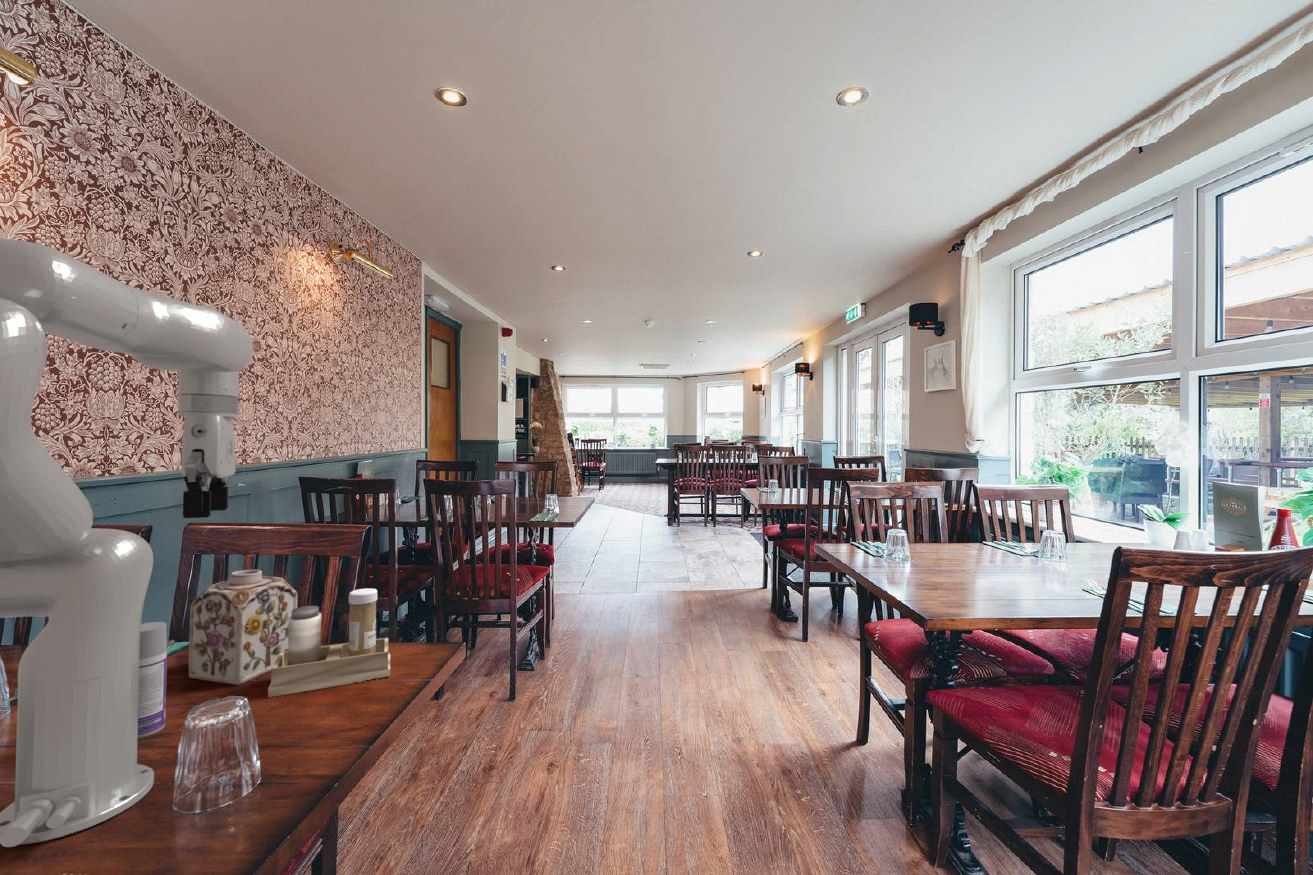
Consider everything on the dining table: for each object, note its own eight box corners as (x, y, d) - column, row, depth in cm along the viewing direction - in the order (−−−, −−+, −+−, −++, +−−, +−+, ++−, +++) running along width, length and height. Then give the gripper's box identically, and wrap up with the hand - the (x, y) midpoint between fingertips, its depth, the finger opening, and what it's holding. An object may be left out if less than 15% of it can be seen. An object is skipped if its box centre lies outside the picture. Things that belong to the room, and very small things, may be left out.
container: (131, 726, 79) (134, 623, 79) (171, 720, 81) (173, 620, 81) (112, 742, 75) (115, 634, 75) (155, 736, 76) (157, 630, 76)
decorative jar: (186, 679, 95) (188, 576, 95) (250, 654, 106) (252, 563, 106) (239, 686, 92) (241, 581, 92) (299, 660, 103) (300, 566, 104)
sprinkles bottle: (377, 666, 97) (378, 591, 97) (348, 672, 95) (350, 595, 95) (374, 658, 101) (375, 586, 101) (346, 663, 98) (348, 589, 99)
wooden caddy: (390, 677, 96) (391, 606, 96) (268, 697, 88) (269, 619, 88) (390, 660, 104) (391, 594, 104) (277, 677, 96) (278, 606, 96)
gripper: (223, 405, 81) (220, 519, 80) (249, 411, 96) (247, 507, 96) (157, 403, 77) (155, 522, 77) (196, 410, 93) (194, 509, 93)
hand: (206, 513), depth 87 cm, fingers open, 9 cm apart
